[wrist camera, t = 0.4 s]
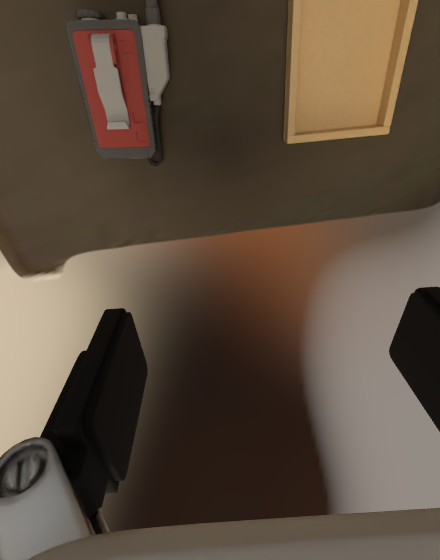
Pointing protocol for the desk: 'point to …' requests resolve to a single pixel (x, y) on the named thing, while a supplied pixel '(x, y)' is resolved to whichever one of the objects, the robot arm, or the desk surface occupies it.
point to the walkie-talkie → (122, 79)
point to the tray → (344, 67)
